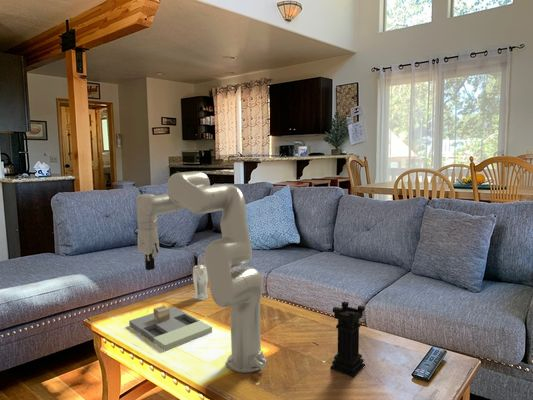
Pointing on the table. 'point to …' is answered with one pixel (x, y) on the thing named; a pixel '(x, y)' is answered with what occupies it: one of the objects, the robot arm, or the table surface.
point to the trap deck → (170, 328)
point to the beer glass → (200, 282)
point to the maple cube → (161, 313)
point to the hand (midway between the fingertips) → (150, 269)
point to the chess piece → (348, 340)
